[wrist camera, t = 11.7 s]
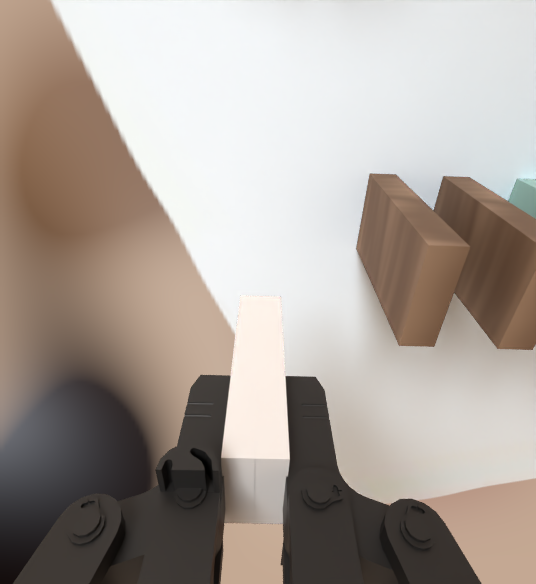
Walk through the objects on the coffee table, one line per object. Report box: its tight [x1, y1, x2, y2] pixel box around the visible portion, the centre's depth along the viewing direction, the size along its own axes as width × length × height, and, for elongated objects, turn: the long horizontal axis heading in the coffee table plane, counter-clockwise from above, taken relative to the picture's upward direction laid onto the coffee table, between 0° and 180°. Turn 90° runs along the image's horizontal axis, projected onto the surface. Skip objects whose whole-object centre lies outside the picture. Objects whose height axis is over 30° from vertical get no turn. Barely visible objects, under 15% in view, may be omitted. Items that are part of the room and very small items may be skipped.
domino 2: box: [434, 176, 536, 350], centre depth 20 cm, size 2×5×10 cm, turn 178°
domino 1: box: [356, 174, 470, 347], centre depth 20 cm, size 2×5×10 cm, turn 178°
